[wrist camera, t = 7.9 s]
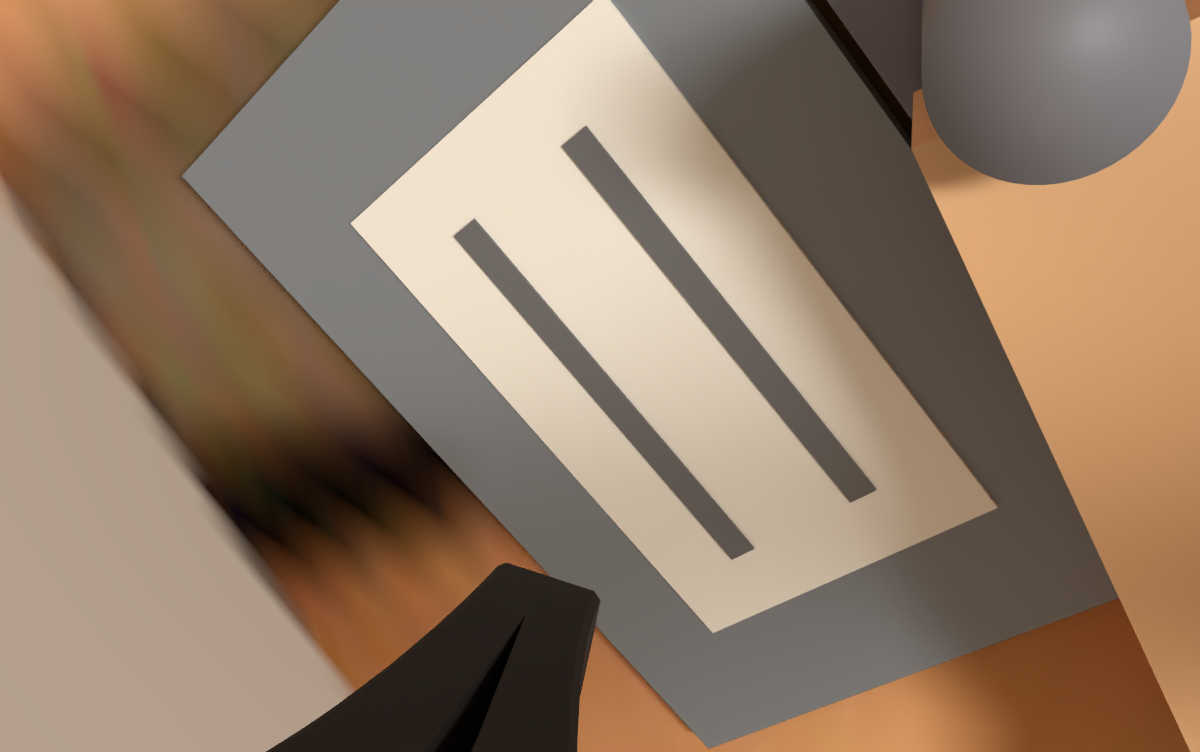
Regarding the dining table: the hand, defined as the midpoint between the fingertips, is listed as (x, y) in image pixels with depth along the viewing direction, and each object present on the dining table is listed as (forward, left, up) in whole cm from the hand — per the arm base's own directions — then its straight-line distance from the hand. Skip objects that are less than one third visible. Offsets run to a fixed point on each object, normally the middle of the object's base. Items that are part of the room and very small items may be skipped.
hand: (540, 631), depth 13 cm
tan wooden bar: (-6, -7, -7) cm, 12 cm away
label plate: (0, 0, -8) cm, 8 cm away
